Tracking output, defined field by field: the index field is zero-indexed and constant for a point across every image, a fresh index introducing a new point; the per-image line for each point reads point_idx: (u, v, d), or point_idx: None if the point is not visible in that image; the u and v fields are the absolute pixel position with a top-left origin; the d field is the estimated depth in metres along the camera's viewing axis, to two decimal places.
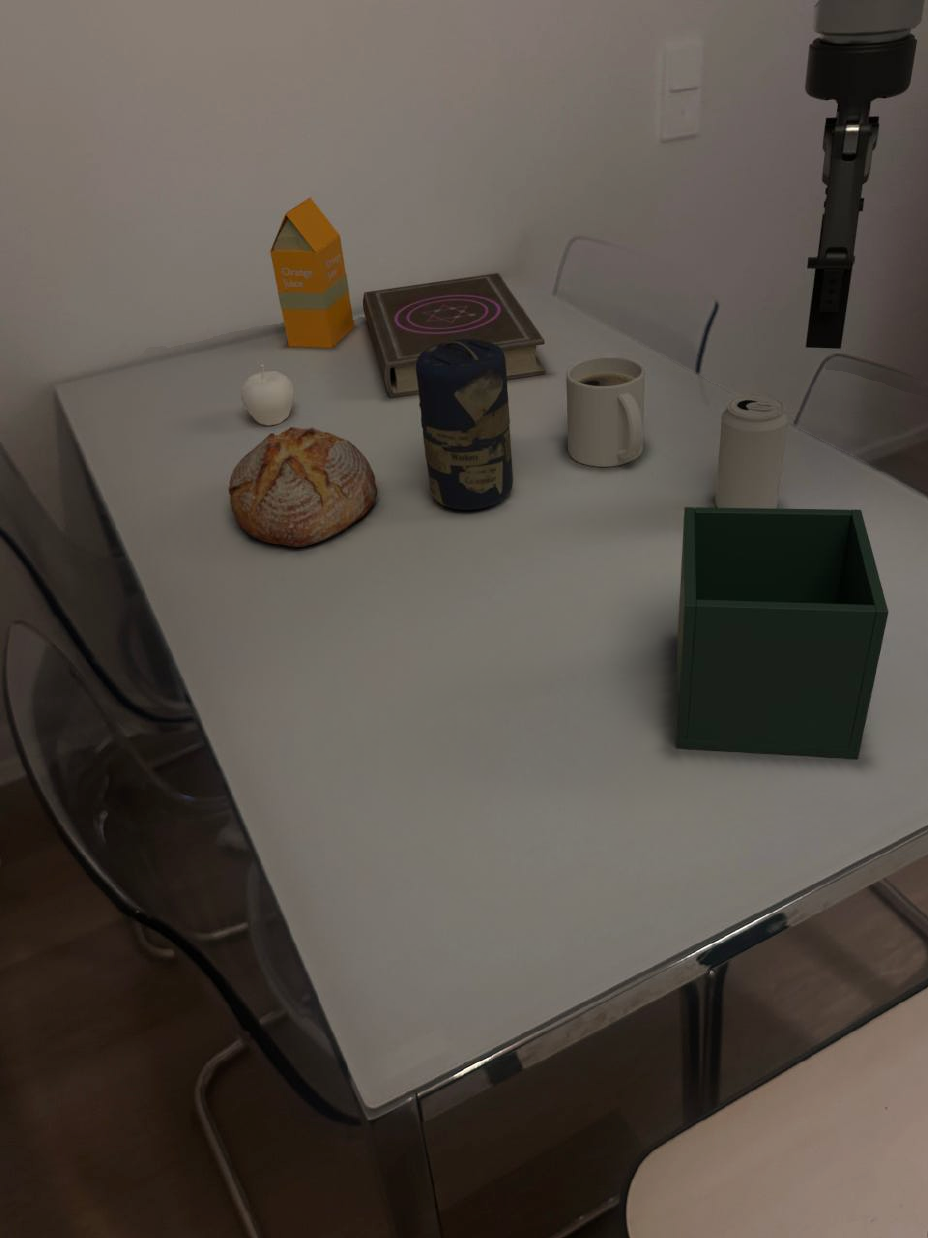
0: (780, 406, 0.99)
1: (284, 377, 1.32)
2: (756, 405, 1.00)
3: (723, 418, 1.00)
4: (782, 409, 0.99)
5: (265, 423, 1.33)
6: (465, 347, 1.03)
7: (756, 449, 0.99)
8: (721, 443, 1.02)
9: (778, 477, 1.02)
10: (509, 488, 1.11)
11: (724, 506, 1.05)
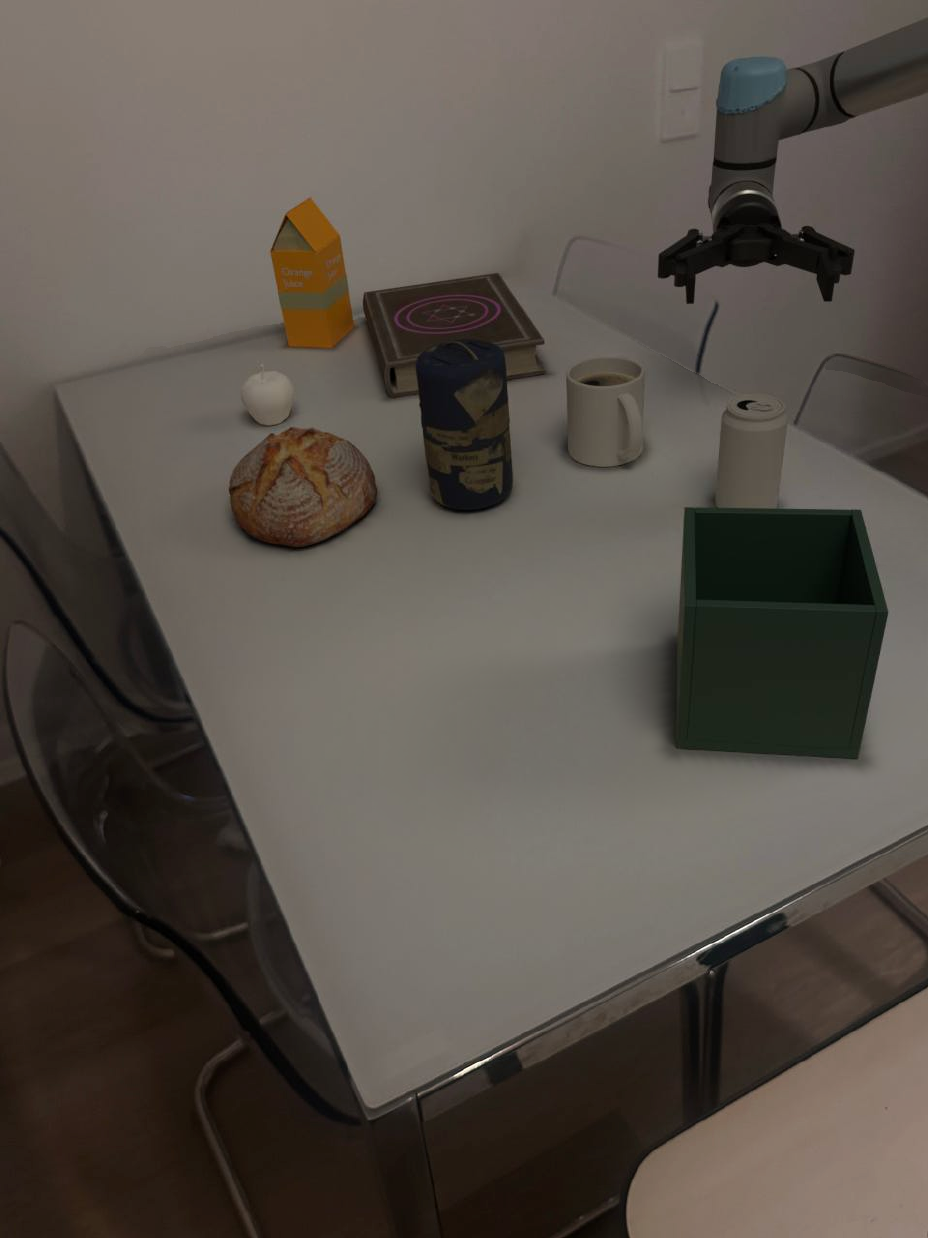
0: (780, 406, 0.99)
1: (284, 377, 1.32)
2: (756, 405, 1.00)
3: (723, 418, 1.00)
4: (782, 409, 0.99)
5: (265, 423, 1.33)
6: (465, 347, 1.03)
7: (756, 449, 0.99)
8: (721, 443, 1.02)
9: (778, 477, 1.02)
10: (509, 488, 1.11)
11: (724, 506, 1.05)
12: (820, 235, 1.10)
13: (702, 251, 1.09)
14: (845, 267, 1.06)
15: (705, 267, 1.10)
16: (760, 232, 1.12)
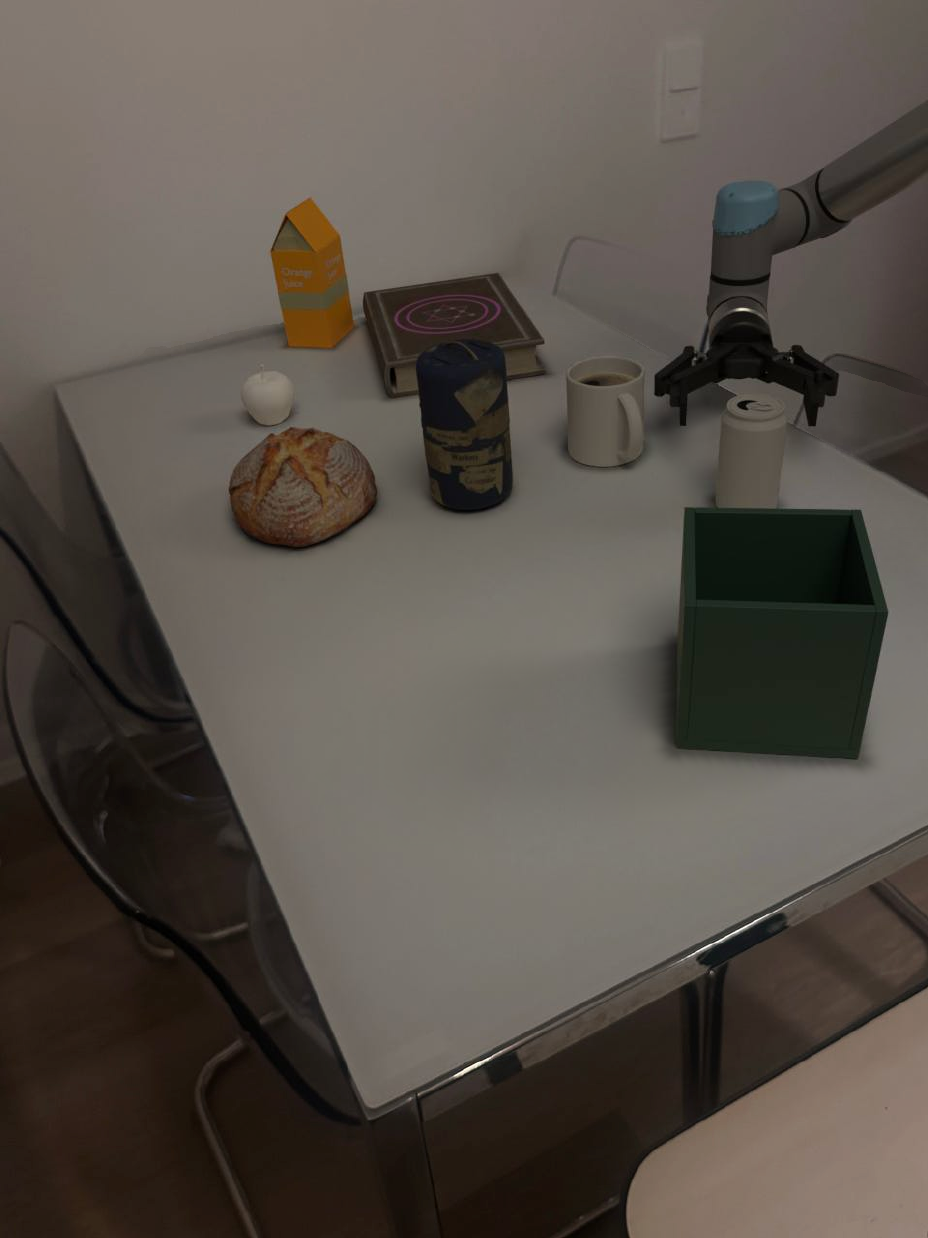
0: (780, 406, 0.99)
1: (284, 377, 1.32)
2: (756, 405, 1.00)
3: (723, 418, 1.00)
4: (782, 409, 0.99)
5: (265, 423, 1.33)
6: (465, 347, 1.03)
7: (756, 449, 0.99)
8: (721, 443, 1.02)
9: (778, 477, 1.02)
10: (509, 488, 1.11)
11: (724, 506, 1.05)
12: (808, 356, 1.16)
13: (696, 372, 1.16)
14: (830, 389, 1.12)
15: (699, 386, 1.17)
16: (752, 351, 1.18)
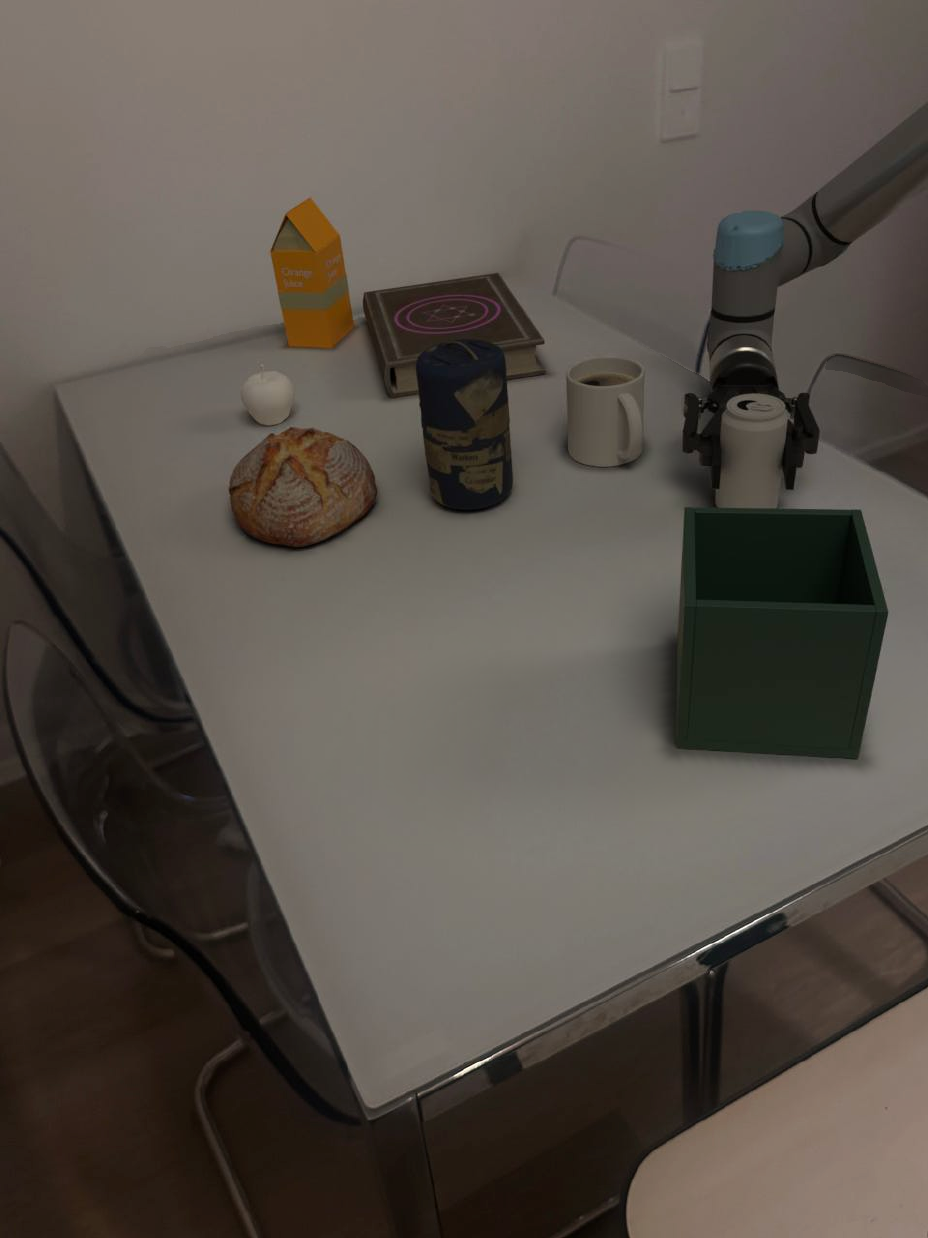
0: (780, 406, 0.99)
1: (284, 377, 1.32)
2: (756, 405, 1.00)
3: (723, 418, 1.00)
4: (782, 409, 0.99)
5: (265, 423, 1.33)
6: (465, 347, 1.03)
7: (756, 449, 0.99)
8: (721, 443, 1.02)
9: (778, 477, 1.02)
10: (509, 488, 1.11)
11: (724, 506, 1.05)
12: (806, 407, 1.07)
13: (720, 423, 1.06)
14: (810, 447, 1.03)
15: None
16: None
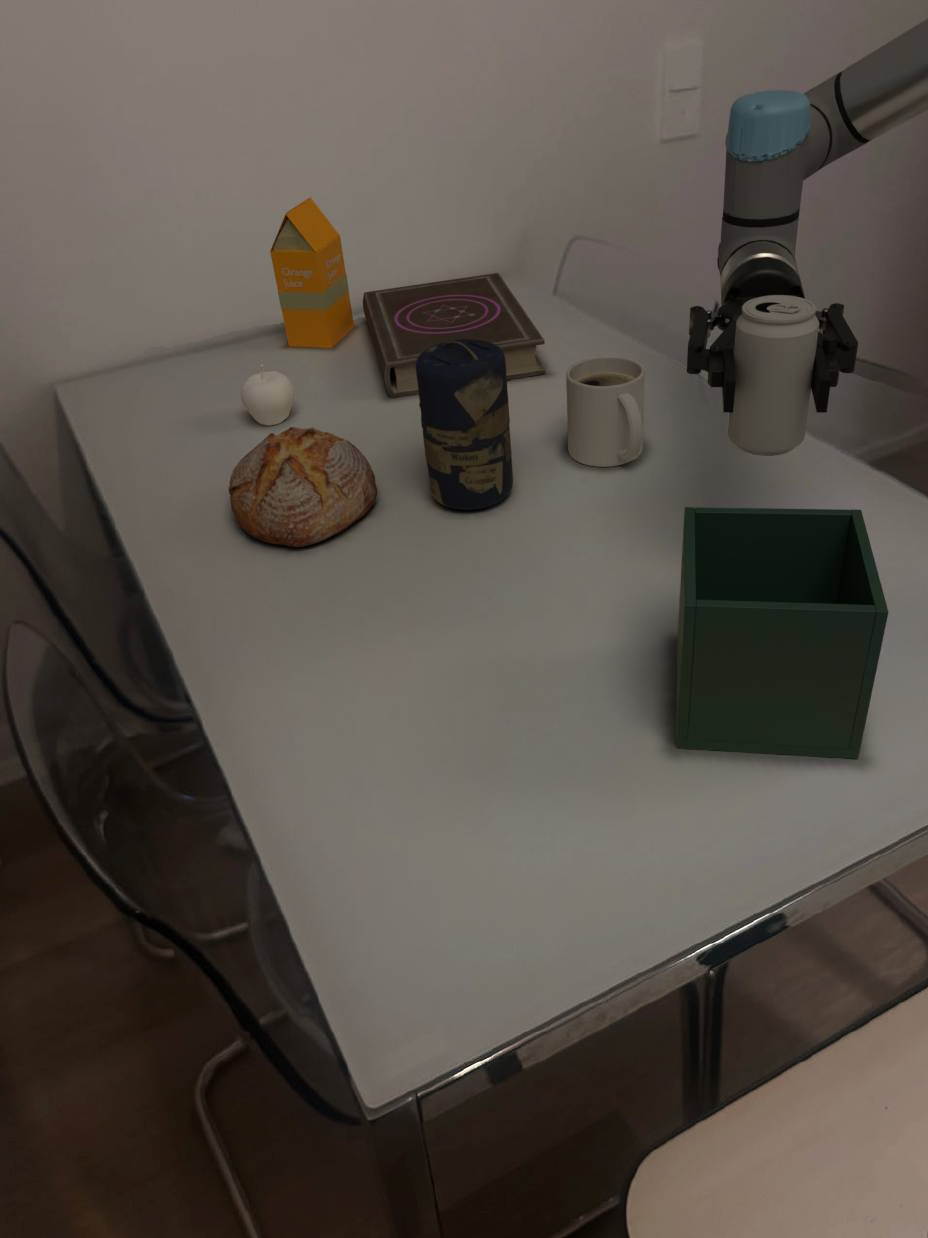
0: (810, 307, 0.79)
1: (284, 377, 1.32)
2: (779, 307, 0.80)
3: (738, 324, 0.80)
4: (812, 311, 0.78)
5: (265, 423, 1.33)
6: (465, 347, 1.03)
7: (779, 362, 0.79)
8: (735, 357, 0.82)
9: (806, 400, 0.82)
10: (509, 488, 1.11)
11: (738, 438, 0.84)
12: (840, 318, 0.87)
13: (734, 337, 0.86)
14: (846, 363, 0.83)
15: None
16: None
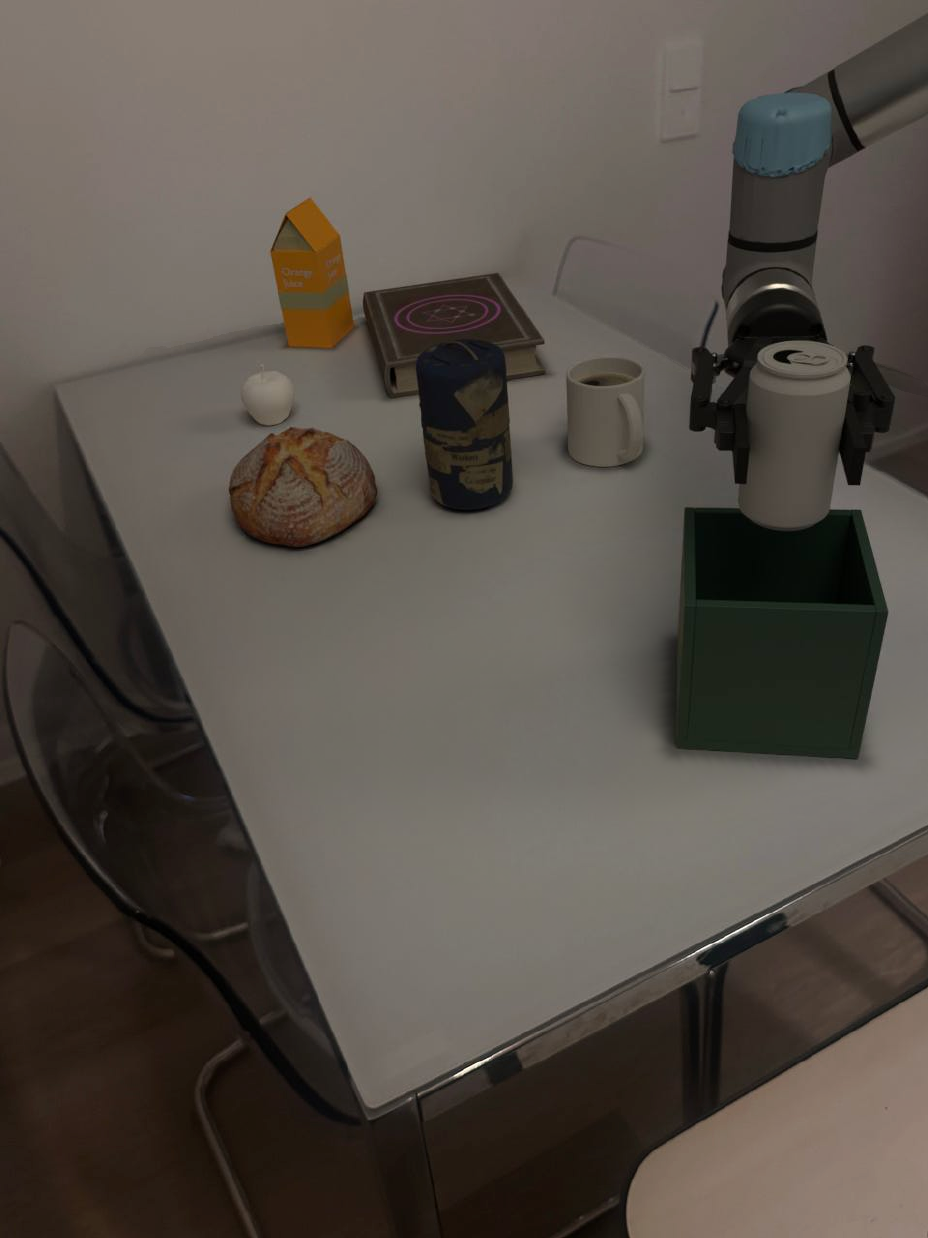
0: (839, 358, 0.65)
1: (284, 377, 1.32)
2: (802, 357, 0.66)
3: (752, 377, 0.66)
4: (843, 362, 0.65)
5: (265, 423, 1.33)
6: (465, 347, 1.03)
7: (803, 424, 0.65)
8: (748, 415, 0.68)
9: (834, 466, 0.68)
10: (509, 488, 1.11)
11: (752, 510, 0.71)
12: (871, 364, 0.73)
13: (745, 388, 0.72)
14: (880, 422, 0.69)
15: (745, 409, 0.74)
16: None
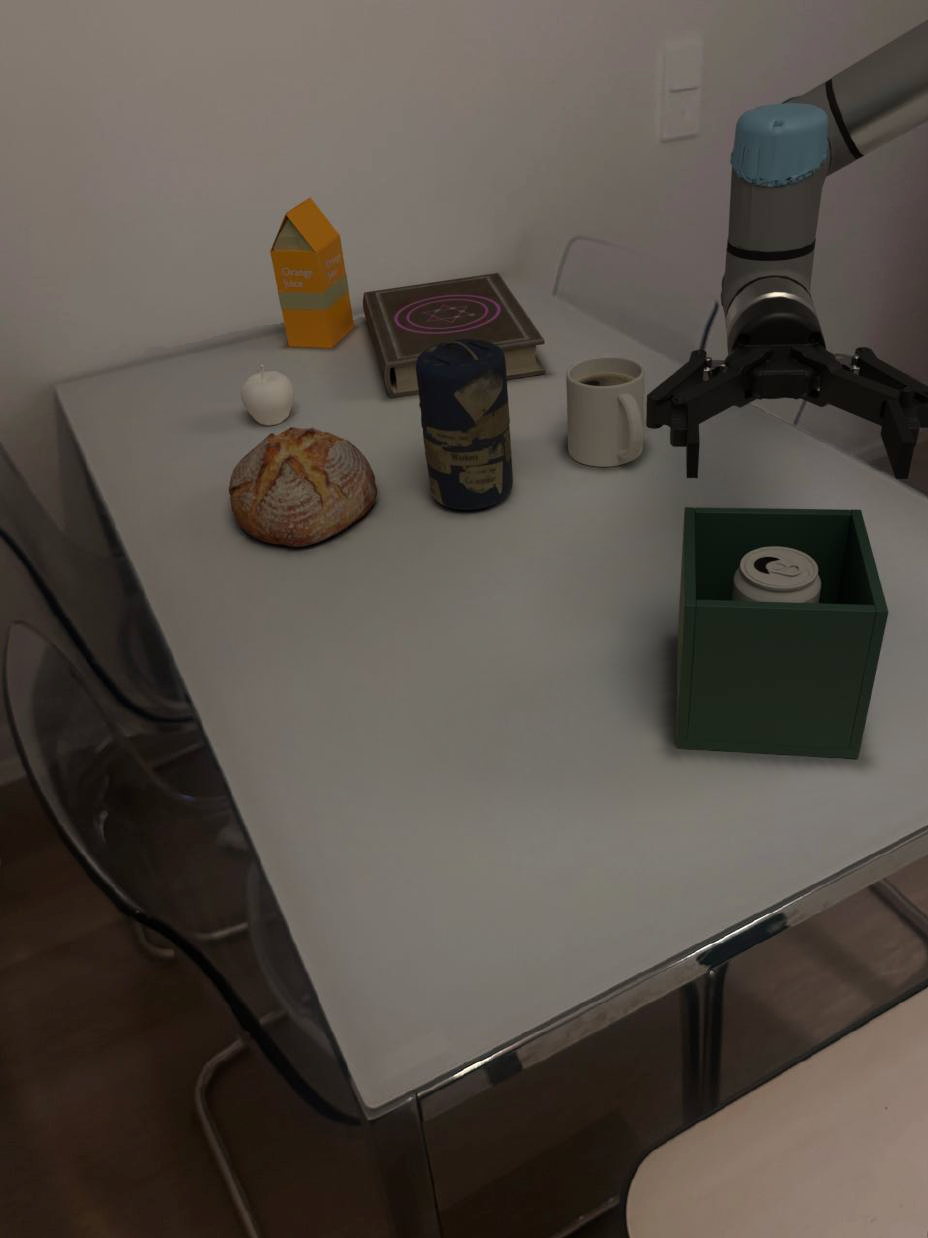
0: (811, 568, 0.75)
1: (284, 377, 1.32)
2: (779, 566, 0.76)
3: (736, 582, 0.76)
4: (814, 574, 0.74)
5: (265, 423, 1.33)
6: (465, 347, 1.03)
7: None
8: None
9: None
10: (509, 488, 1.11)
11: None
12: (884, 364, 0.75)
13: (711, 390, 0.74)
14: (924, 417, 0.71)
15: (715, 412, 0.76)
16: (795, 358, 0.77)
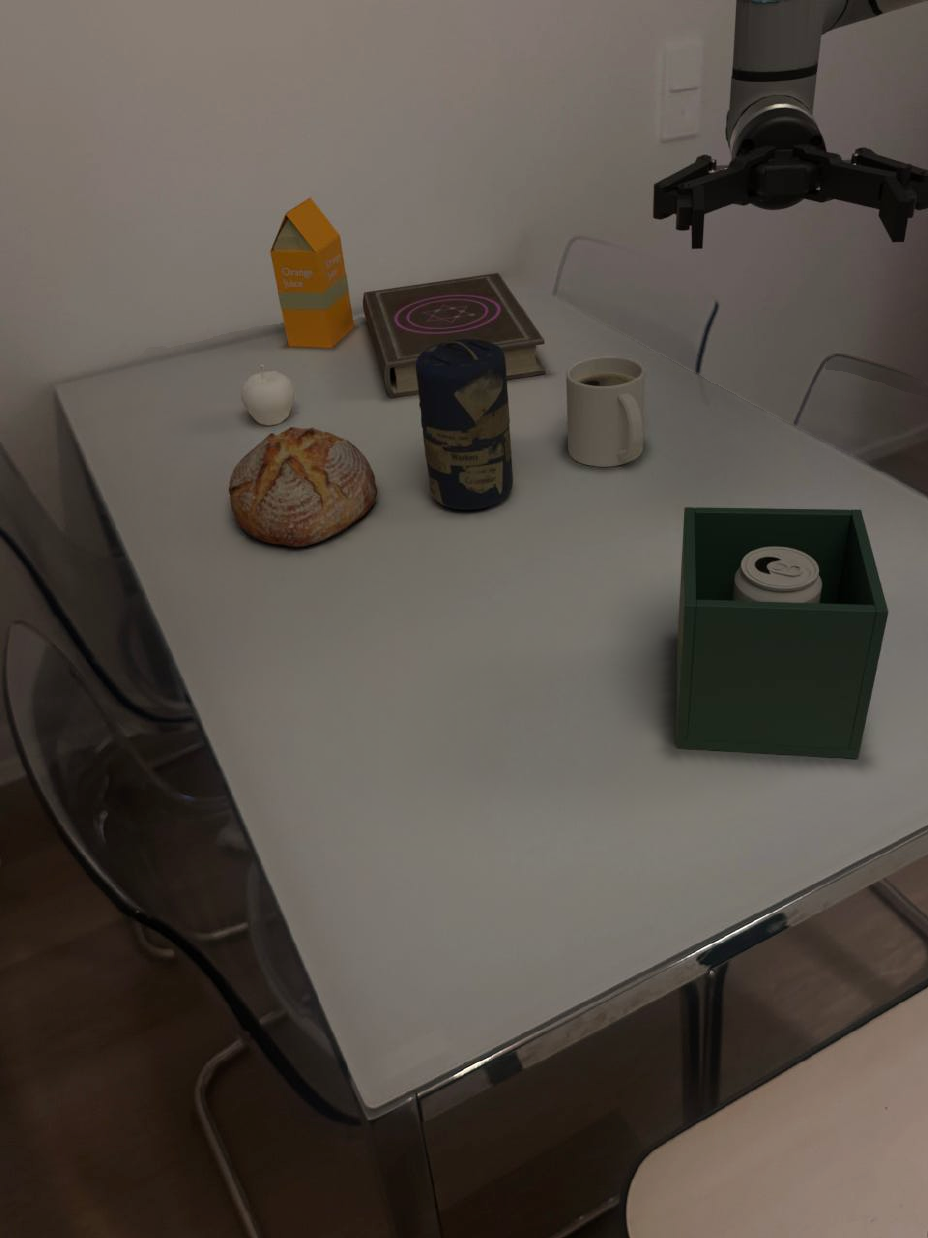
0: (812, 569, 0.75)
1: (284, 377, 1.32)
2: (780, 566, 0.76)
3: (736, 582, 0.76)
4: (815, 574, 0.74)
5: (265, 423, 1.33)
6: (465, 347, 1.03)
7: None
8: None
9: None
10: (509, 488, 1.11)
11: None
12: (882, 157, 0.78)
13: (715, 180, 0.77)
14: (920, 197, 0.74)
15: (719, 204, 0.79)
16: (797, 156, 0.80)
